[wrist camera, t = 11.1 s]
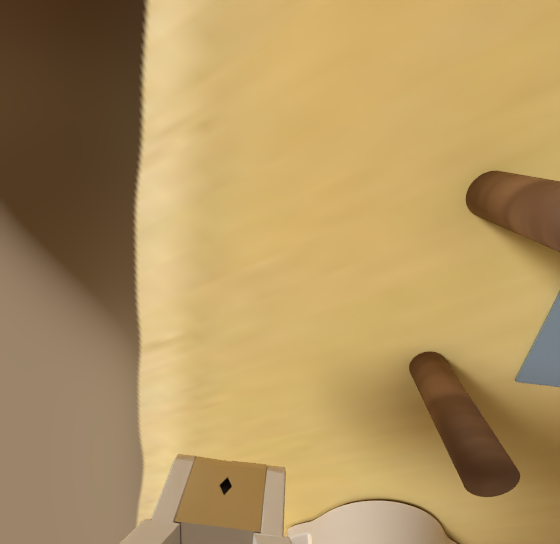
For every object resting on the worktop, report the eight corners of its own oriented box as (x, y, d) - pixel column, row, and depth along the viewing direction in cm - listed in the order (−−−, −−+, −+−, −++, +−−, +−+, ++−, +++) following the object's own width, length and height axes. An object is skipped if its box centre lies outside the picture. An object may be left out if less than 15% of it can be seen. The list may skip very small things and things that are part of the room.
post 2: (503, 219, 20) (644, 275, 12) (459, 214, 20) (570, 266, 12) (521, 173, 19) (689, 201, 11) (475, 168, 19) (608, 192, 11)
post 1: (439, 382, 26) (507, 499, 17) (405, 378, 26) (456, 493, 17) (451, 354, 24) (528, 464, 16) (414, 349, 24) (473, 458, 16)
